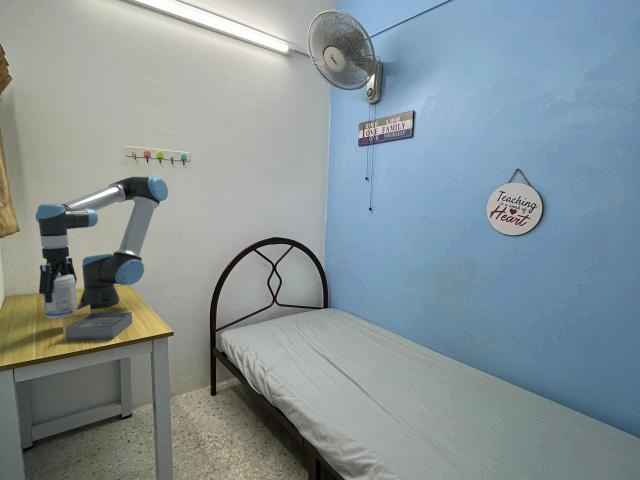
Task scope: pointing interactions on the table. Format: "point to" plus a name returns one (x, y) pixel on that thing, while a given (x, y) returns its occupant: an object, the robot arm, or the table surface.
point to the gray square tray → (94, 325)
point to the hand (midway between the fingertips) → (61, 305)
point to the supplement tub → (63, 297)
